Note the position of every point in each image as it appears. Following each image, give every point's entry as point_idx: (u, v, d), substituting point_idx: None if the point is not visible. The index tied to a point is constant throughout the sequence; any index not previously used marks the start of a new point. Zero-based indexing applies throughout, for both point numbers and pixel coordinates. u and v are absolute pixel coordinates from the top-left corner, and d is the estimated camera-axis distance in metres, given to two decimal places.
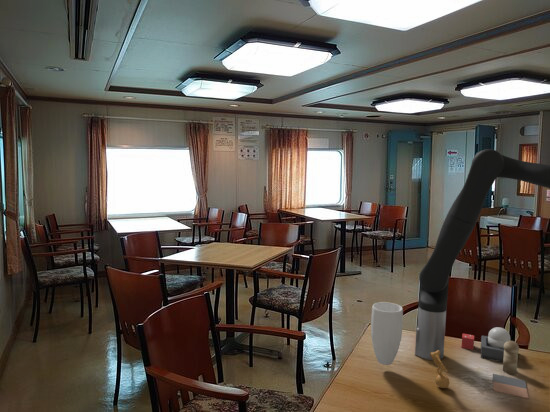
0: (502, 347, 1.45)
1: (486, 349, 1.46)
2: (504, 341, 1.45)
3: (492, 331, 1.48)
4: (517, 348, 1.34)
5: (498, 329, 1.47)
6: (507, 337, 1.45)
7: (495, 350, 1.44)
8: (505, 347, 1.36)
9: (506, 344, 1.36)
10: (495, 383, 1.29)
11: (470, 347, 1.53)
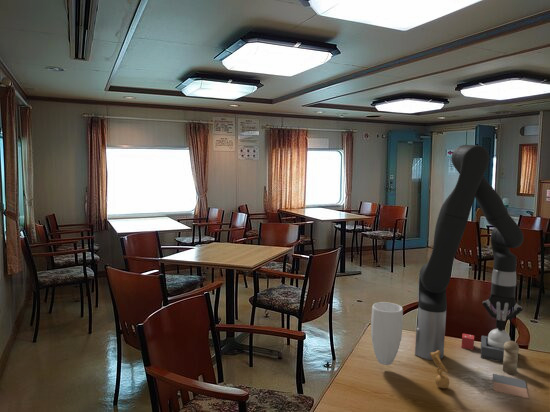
0: (502, 348, 1.45)
1: (486, 349, 1.46)
2: (504, 342, 1.45)
3: (492, 332, 1.48)
4: (517, 348, 1.34)
5: (498, 330, 1.48)
6: (507, 338, 1.46)
7: (495, 350, 1.44)
8: (505, 347, 1.36)
9: (506, 344, 1.36)
10: (495, 383, 1.29)
11: (470, 347, 1.53)
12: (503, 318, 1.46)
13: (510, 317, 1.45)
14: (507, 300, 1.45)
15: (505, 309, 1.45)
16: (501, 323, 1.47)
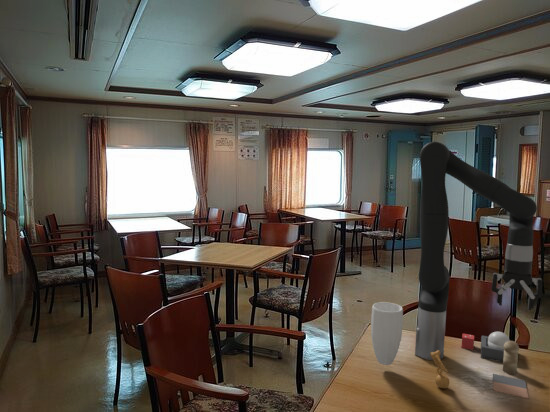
0: None
1: (486, 349, 1.46)
2: None
3: (492, 335, 1.48)
4: (517, 348, 1.34)
5: (498, 333, 1.48)
6: None
7: (495, 350, 1.44)
8: (505, 347, 1.36)
9: (506, 344, 1.36)
10: (495, 383, 1.29)
11: (470, 347, 1.53)
12: (532, 296, 1.31)
13: (539, 294, 1.30)
14: (522, 277, 1.32)
15: (525, 287, 1.32)
16: (529, 302, 1.32)
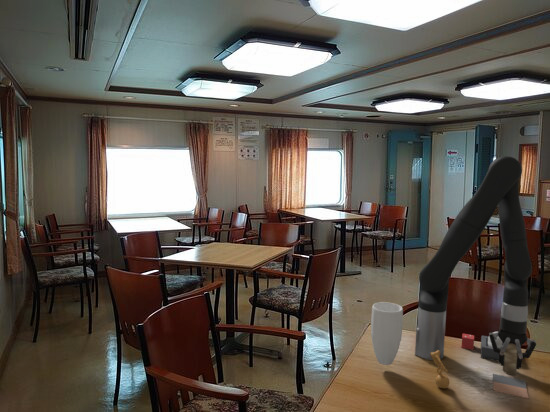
0: None
1: (486, 349, 1.46)
2: None
3: None
4: None
5: None
6: None
7: None
8: None
9: None
10: (495, 383, 1.29)
11: (470, 347, 1.53)
12: (520, 356, 1.34)
13: (527, 355, 1.33)
14: (518, 336, 1.34)
15: (518, 346, 1.34)
16: (517, 361, 1.35)
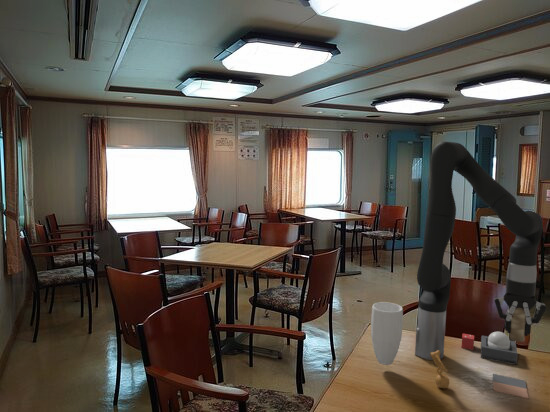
0: None
1: (486, 349, 1.46)
2: (504, 345, 1.45)
3: (492, 335, 1.48)
4: None
5: (498, 333, 1.48)
6: (507, 341, 1.46)
7: (495, 350, 1.44)
8: None
9: None
10: (495, 383, 1.29)
11: (470, 347, 1.53)
12: (528, 321, 1.23)
13: (536, 320, 1.22)
14: (526, 299, 1.22)
15: (526, 310, 1.22)
16: (526, 327, 1.23)
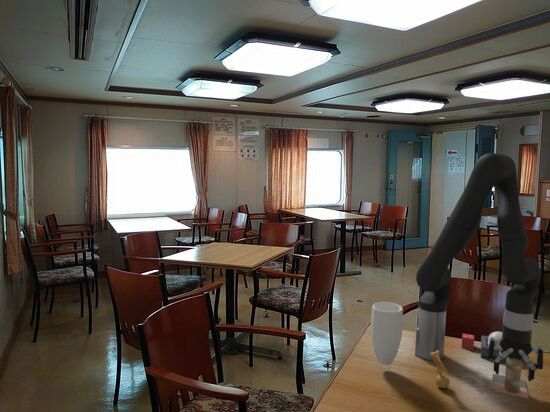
0: None
1: (486, 349, 1.46)
2: None
3: (492, 335, 1.48)
4: (520, 364, 1.23)
5: (498, 333, 1.48)
6: None
7: (495, 350, 1.44)
8: (507, 363, 1.24)
9: (508, 360, 1.24)
10: (495, 383, 1.29)
11: (470, 347, 1.53)
12: (532, 367, 1.22)
13: (540, 366, 1.21)
14: (522, 346, 1.22)
15: (524, 357, 1.22)
16: (529, 373, 1.22)
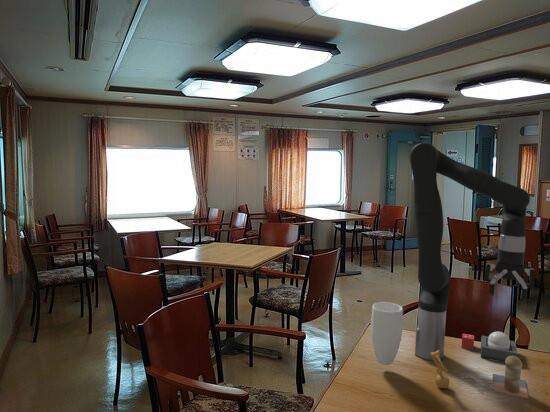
0: None
1: (486, 349, 1.46)
2: (504, 345, 1.45)
3: (492, 335, 1.48)
4: (520, 363, 1.23)
5: (498, 333, 1.48)
6: (507, 341, 1.46)
7: (495, 350, 1.44)
8: (506, 363, 1.25)
9: (507, 359, 1.25)
10: (495, 383, 1.29)
11: (470, 347, 1.53)
12: (524, 286, 1.33)
13: (531, 285, 1.32)
14: (515, 268, 1.34)
15: (517, 277, 1.33)
16: (522, 292, 1.34)
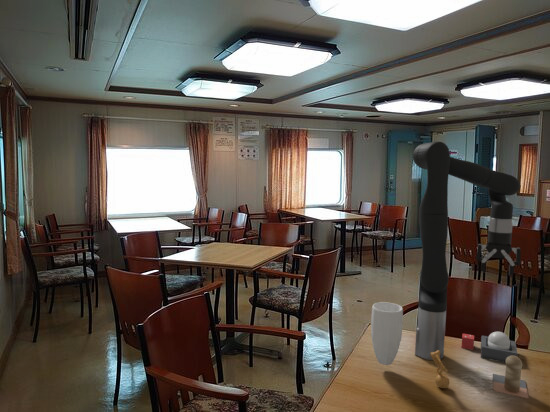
0: None
1: (486, 349, 1.46)
2: (504, 345, 1.45)
3: (492, 335, 1.48)
4: (520, 363, 1.23)
5: (498, 333, 1.48)
6: (507, 341, 1.46)
7: (495, 350, 1.44)
8: (507, 362, 1.25)
9: (508, 359, 1.25)
10: (495, 383, 1.29)
11: (470, 347, 1.53)
12: (512, 263, 1.49)
13: (518, 262, 1.48)
14: (503, 247, 1.50)
15: (506, 255, 1.49)
16: (510, 268, 1.49)
